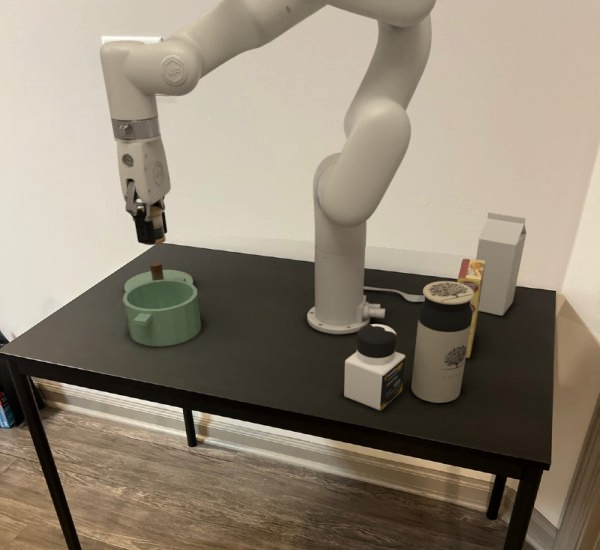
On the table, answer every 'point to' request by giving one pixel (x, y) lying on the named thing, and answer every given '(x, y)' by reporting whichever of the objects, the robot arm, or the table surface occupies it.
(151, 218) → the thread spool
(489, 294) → the milk carton
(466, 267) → the candy box
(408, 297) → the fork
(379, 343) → the medicine bottle
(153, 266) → the pot lid
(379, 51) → the robot arm
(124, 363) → the table surface
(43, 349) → the table surface
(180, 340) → the pot
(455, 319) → the travel mug
